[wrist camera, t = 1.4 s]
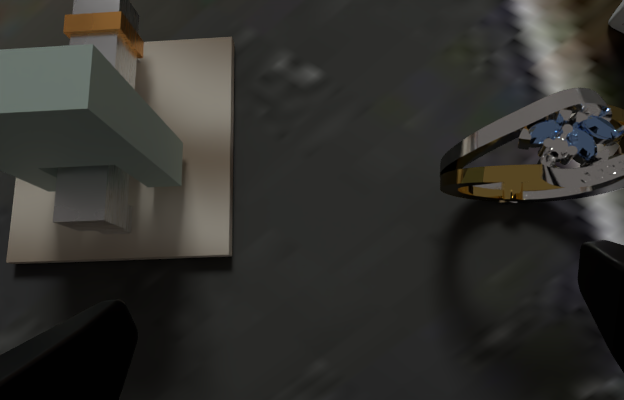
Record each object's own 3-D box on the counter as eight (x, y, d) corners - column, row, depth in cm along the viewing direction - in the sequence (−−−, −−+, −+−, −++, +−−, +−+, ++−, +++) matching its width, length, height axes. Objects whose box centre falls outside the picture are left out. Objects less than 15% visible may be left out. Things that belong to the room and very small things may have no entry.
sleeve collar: (181, 186, 22) (87, 108, 14) (48, 191, 23) (-116, 119, 15) (183, 127, 23) (94, 22, 15) (54, 134, 23) (-101, 35, 15)
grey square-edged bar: (144, 234, 23) (106, 218, 19) (91, 237, 23) (44, 221, 19) (154, 32, 25) (123, -16, 21) (106, 35, 25) (67, -12, 22)
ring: (425, 226, 22) (466, 175, 15) (426, 157, 23) (466, 73, 15) (591, 235, 22) (725, 186, 14) (586, 163, 23) (712, 80, 15)
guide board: (232, 256, 23) (228, 254, 22) (14, 264, 23) (6, 262, 23) (234, 43, 25) (231, 36, 25) (37, 55, 26) (30, 49, 25)
